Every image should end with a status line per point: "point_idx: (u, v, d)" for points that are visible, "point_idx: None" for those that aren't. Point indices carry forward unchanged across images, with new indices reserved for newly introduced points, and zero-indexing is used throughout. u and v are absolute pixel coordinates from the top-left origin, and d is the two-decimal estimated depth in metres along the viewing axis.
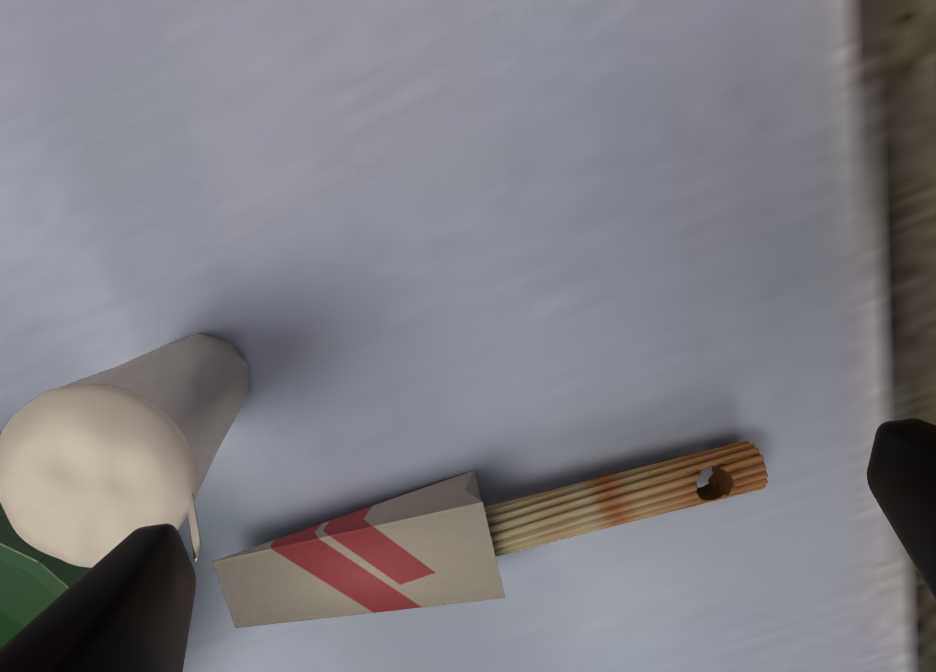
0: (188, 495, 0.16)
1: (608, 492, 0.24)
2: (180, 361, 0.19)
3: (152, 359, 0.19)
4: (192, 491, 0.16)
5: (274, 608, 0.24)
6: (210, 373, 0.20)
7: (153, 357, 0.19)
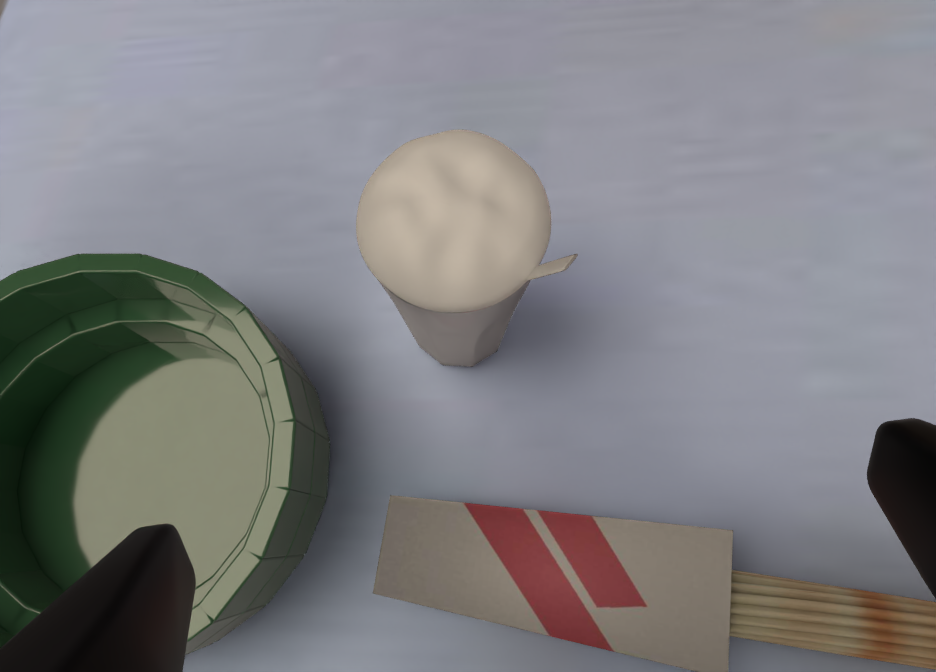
0: (534, 263, 0.15)
1: (874, 600, 0.19)
2: None
3: None
4: (537, 265, 0.15)
5: (431, 583, 0.19)
6: None
7: None
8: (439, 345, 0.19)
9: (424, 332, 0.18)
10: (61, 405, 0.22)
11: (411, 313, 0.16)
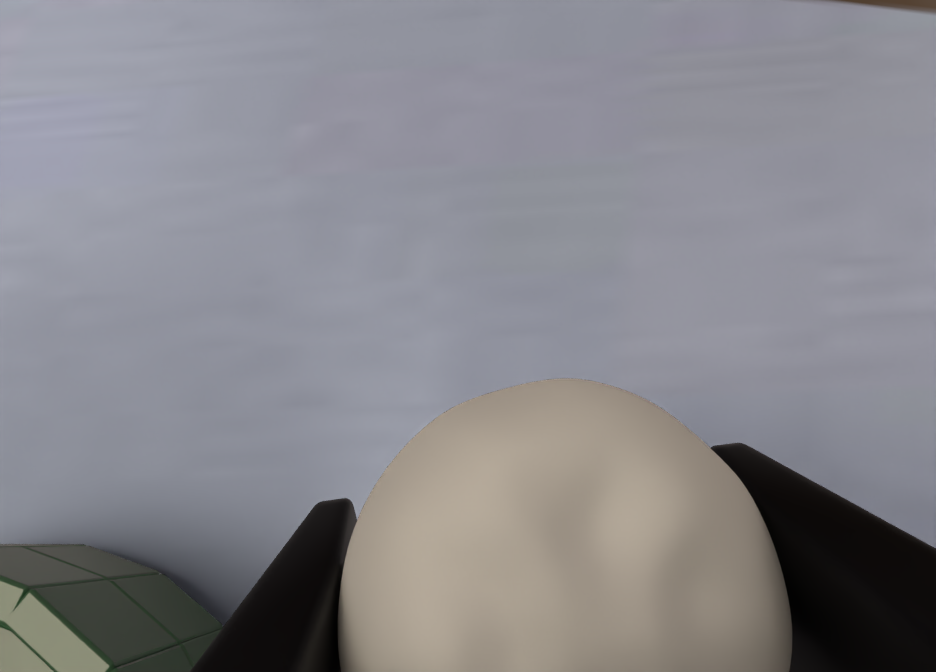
0: None
1: None
2: None
3: None
4: None
5: None
6: None
7: None
8: None
9: None
10: None
11: None
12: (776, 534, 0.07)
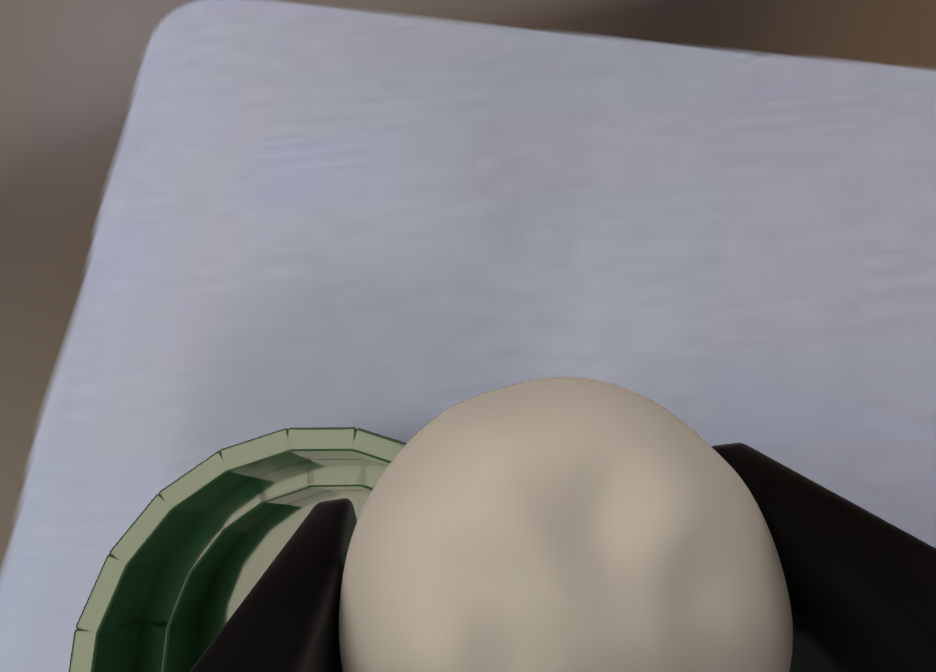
0: None
1: None
2: None
3: None
4: None
5: None
6: None
7: None
8: None
9: None
10: (236, 564, 0.20)
11: None
12: (776, 534, 0.07)
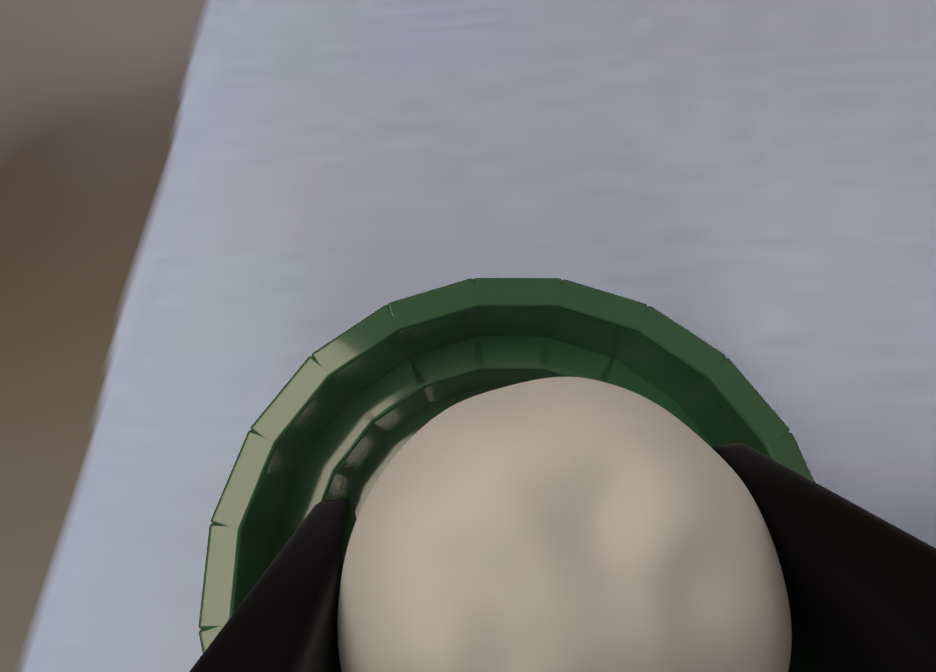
0: None
1: None
2: None
3: None
4: None
5: None
6: None
7: None
8: None
9: None
10: (371, 474, 0.16)
11: None
12: (776, 534, 0.07)
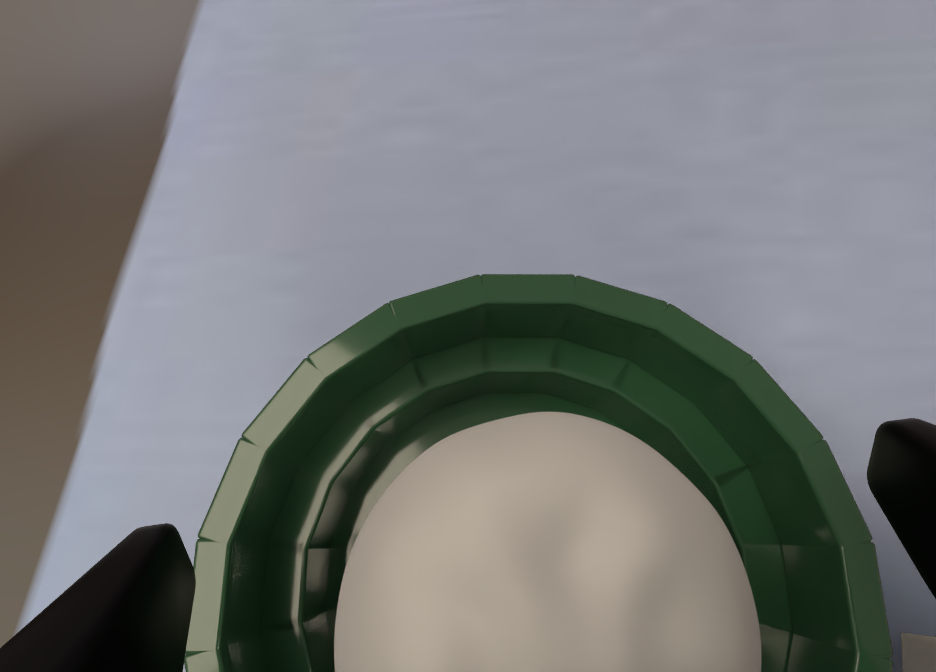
0: None
1: None
2: None
3: None
4: None
5: None
6: None
7: None
8: None
9: None
10: (371, 484, 0.15)
11: None
12: None
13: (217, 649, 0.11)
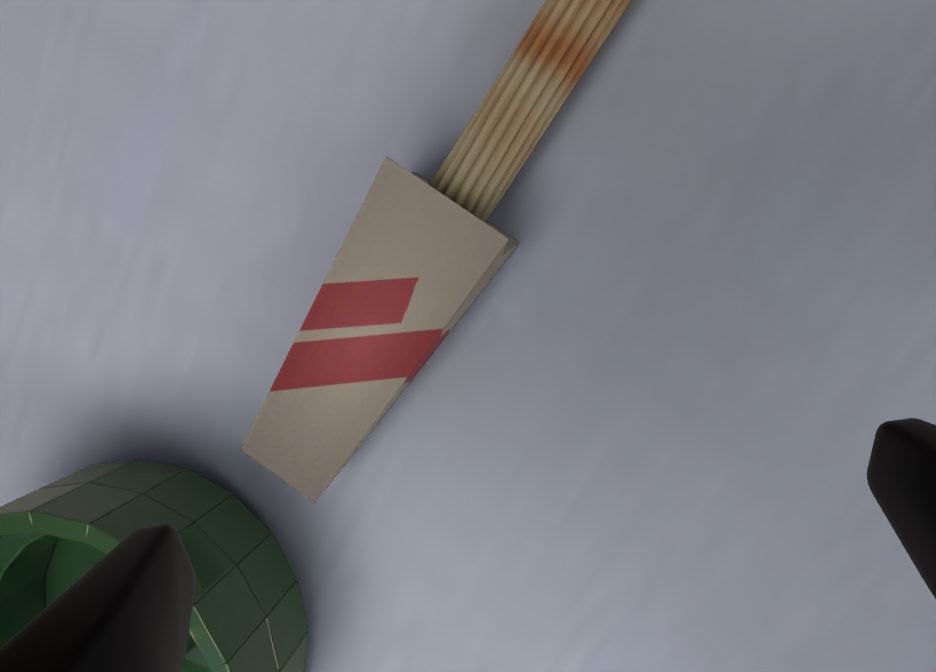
0: None
1: (527, 37, 0.17)
2: None
3: None
4: None
5: (325, 452, 0.19)
6: None
7: None
8: None
9: None
10: None
11: None
12: None
13: None
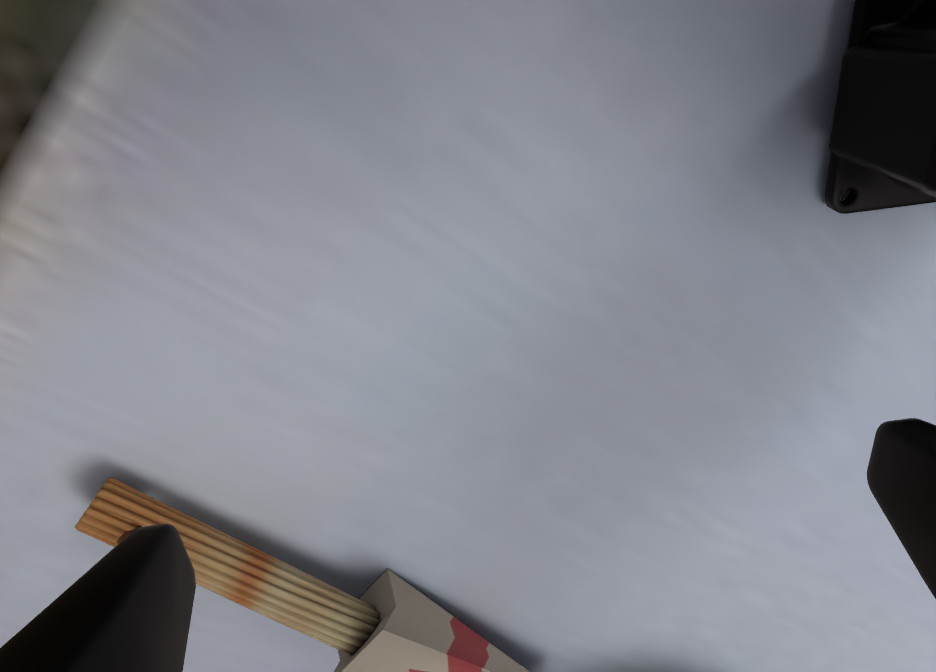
0: None
1: None
2: None
3: None
4: None
5: None
6: None
7: None
8: None
9: None
10: None
11: None
12: None
13: None
